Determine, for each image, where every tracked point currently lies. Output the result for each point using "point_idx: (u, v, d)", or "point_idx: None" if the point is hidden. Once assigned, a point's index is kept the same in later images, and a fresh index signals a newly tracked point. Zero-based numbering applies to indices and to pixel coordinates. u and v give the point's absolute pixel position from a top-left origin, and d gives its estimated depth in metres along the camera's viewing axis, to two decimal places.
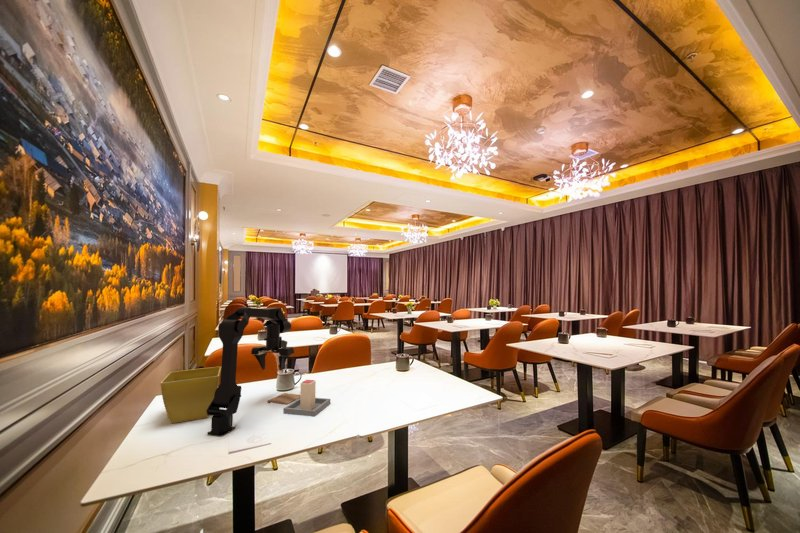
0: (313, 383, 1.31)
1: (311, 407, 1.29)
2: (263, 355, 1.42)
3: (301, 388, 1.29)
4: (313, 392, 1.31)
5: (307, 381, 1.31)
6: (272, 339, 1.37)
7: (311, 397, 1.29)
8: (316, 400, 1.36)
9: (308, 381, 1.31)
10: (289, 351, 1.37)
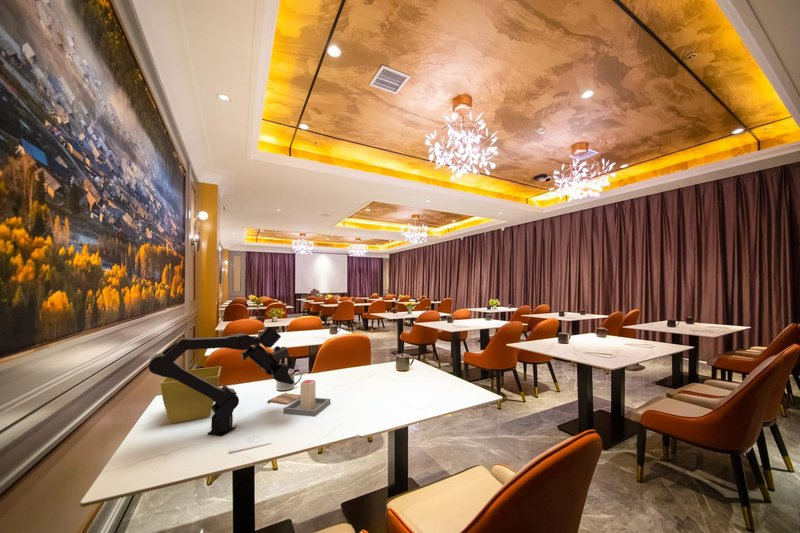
0: (313, 383, 1.31)
1: (311, 407, 1.29)
2: (275, 368, 1.29)
3: (301, 388, 1.29)
4: (313, 392, 1.31)
5: (307, 381, 1.31)
6: None
7: (311, 397, 1.29)
8: (316, 400, 1.36)
9: (308, 381, 1.31)
10: (279, 374, 1.16)
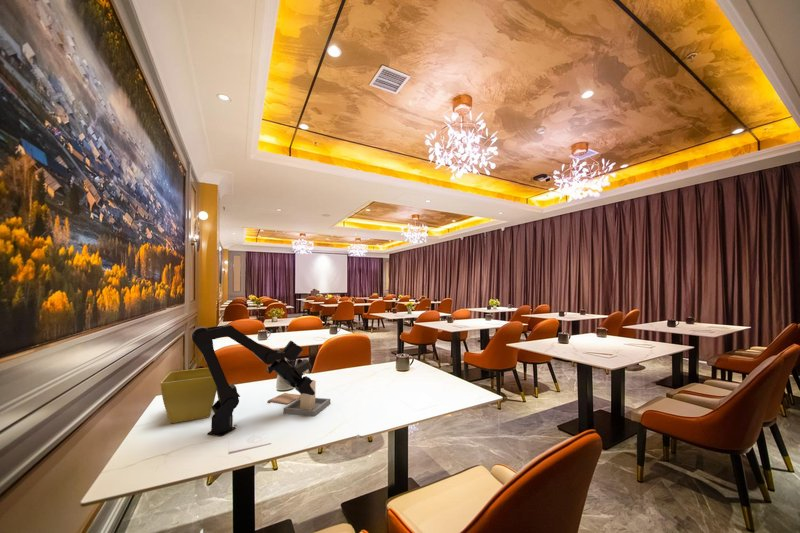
0: (313, 383, 1.31)
1: (311, 407, 1.29)
2: (298, 381, 1.33)
3: None
4: None
5: None
6: (284, 379, 1.24)
7: (311, 397, 1.29)
8: (316, 400, 1.36)
9: None
10: (303, 387, 1.21)
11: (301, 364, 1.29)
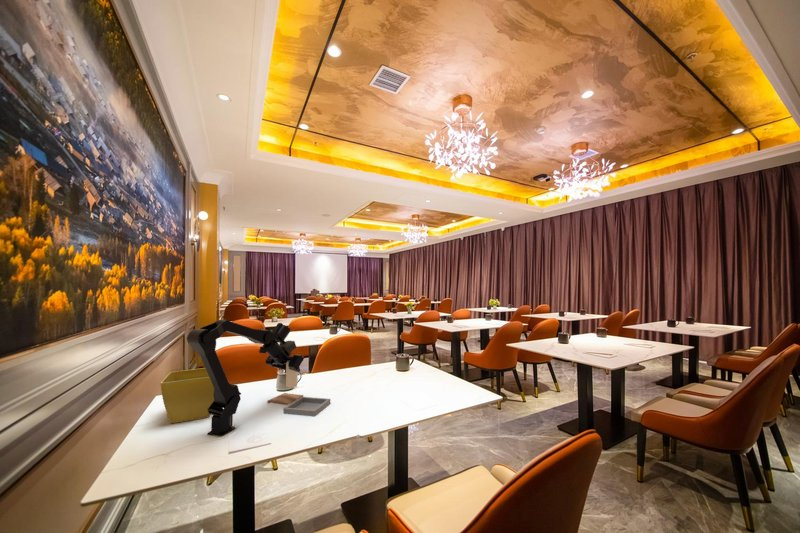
0: None
1: (296, 383, 1.40)
2: None
3: (287, 367, 1.39)
4: None
5: None
6: (276, 358, 1.32)
7: (296, 374, 1.41)
8: (316, 400, 1.36)
9: None
10: (298, 363, 1.33)
11: (288, 344, 1.39)
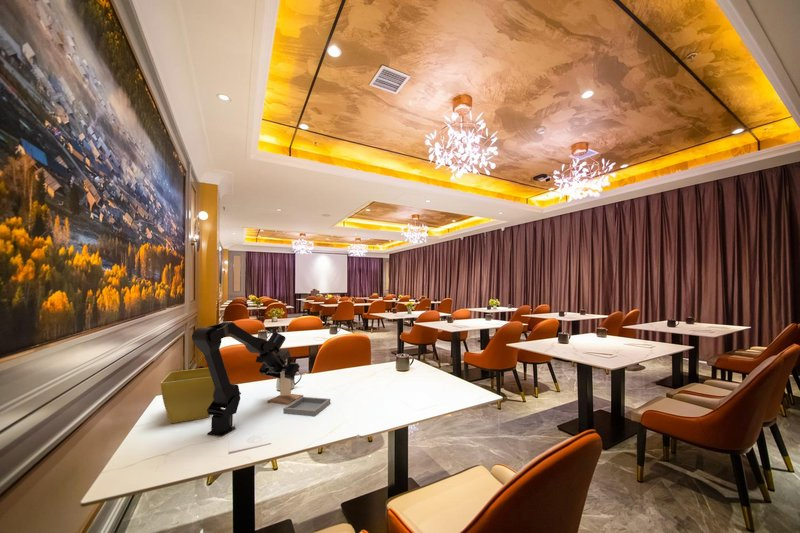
0: None
1: (290, 391, 1.42)
2: None
3: (281, 375, 1.40)
4: None
5: None
6: (272, 367, 1.33)
7: (290, 382, 1.42)
8: (316, 400, 1.36)
9: None
10: (294, 372, 1.35)
11: (283, 353, 1.40)
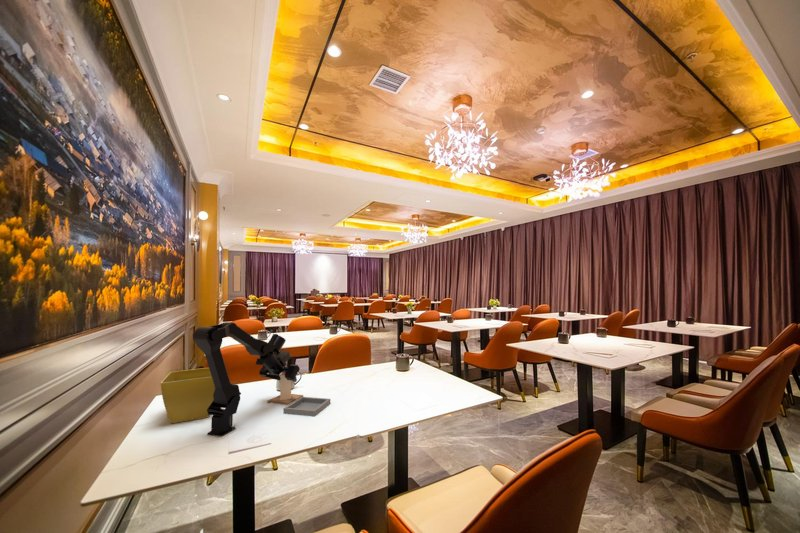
0: None
1: (290, 395, 1.42)
2: None
3: (281, 380, 1.40)
4: None
5: None
6: (272, 369, 1.33)
7: (290, 387, 1.42)
8: (316, 400, 1.36)
9: None
10: (294, 374, 1.35)
11: (283, 355, 1.40)
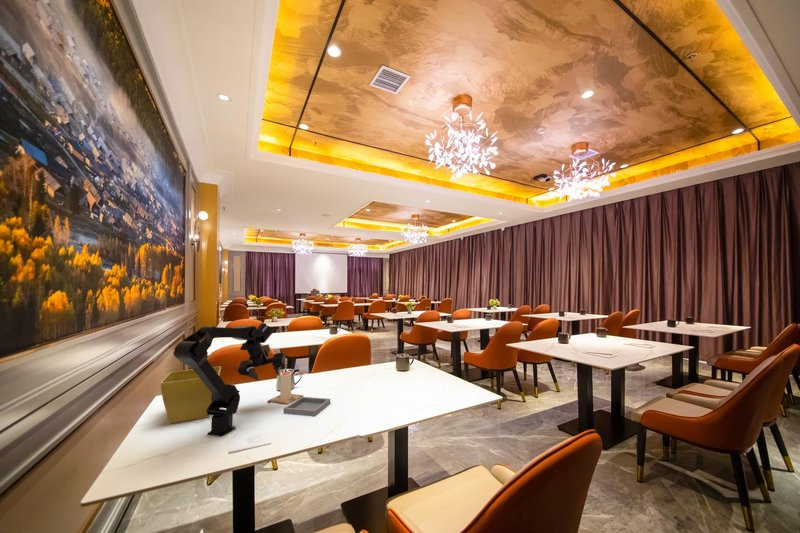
0: None
1: (290, 395, 1.42)
2: (252, 369, 1.33)
3: (281, 380, 1.40)
4: None
5: (286, 373, 1.42)
6: (259, 357, 1.27)
7: (290, 387, 1.42)
8: (316, 400, 1.36)
9: (287, 373, 1.43)
10: (282, 359, 1.32)
11: (263, 347, 1.35)
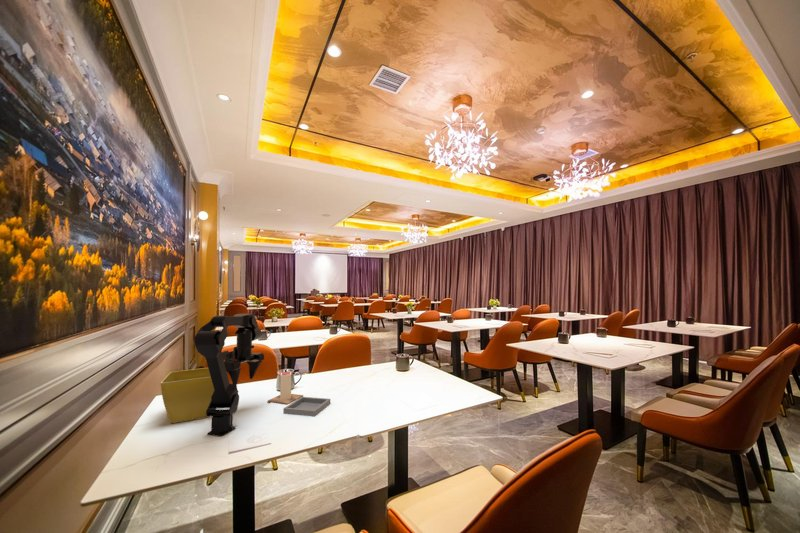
0: None
1: (290, 395, 1.42)
2: None
3: (281, 380, 1.40)
4: None
5: (286, 373, 1.42)
6: (253, 346, 1.30)
7: (290, 387, 1.42)
8: (316, 400, 1.36)
9: (287, 373, 1.43)
10: None
11: None
